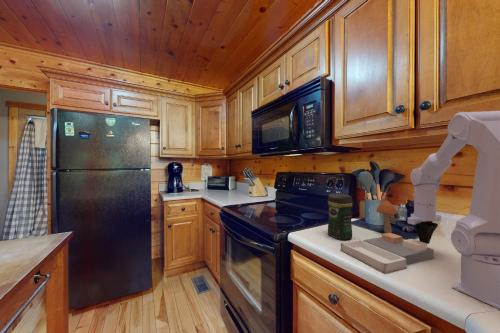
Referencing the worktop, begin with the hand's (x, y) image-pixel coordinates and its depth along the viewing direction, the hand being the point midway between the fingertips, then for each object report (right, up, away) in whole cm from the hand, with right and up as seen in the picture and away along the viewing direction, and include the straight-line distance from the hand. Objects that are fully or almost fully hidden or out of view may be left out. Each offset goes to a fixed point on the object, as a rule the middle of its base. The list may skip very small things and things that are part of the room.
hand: (424, 242), depth 69 cm
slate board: (-9, -4, +1) cm, 10 cm away
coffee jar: (-22, -4, +17) cm, 28 cm away
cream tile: (-5, -1, -2) cm, 5 cm away
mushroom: (+1, -4, +21) cm, 22 cm away
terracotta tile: (-8, -1, +5) cm, 9 cm away
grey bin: (-20, -4, -3) cm, 21 cm away
